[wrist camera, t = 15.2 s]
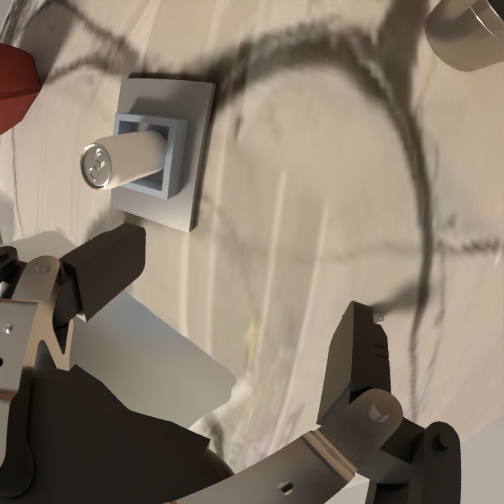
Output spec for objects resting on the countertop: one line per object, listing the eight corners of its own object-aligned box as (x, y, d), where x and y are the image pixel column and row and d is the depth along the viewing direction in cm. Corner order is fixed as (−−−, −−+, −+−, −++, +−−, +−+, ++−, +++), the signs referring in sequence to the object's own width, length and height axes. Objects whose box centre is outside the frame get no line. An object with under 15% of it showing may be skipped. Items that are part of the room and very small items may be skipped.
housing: (126, 78, 36) (109, 77, 32) (216, 84, 33) (202, 80, 29) (115, 204, 46) (99, 211, 43) (192, 229, 44) (178, 240, 40)
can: (179, 148, 37) (121, 162, 27) (156, 180, 40) (100, 204, 30) (150, 121, 37) (90, 128, 26) (130, 154, 40) (72, 170, 30)
